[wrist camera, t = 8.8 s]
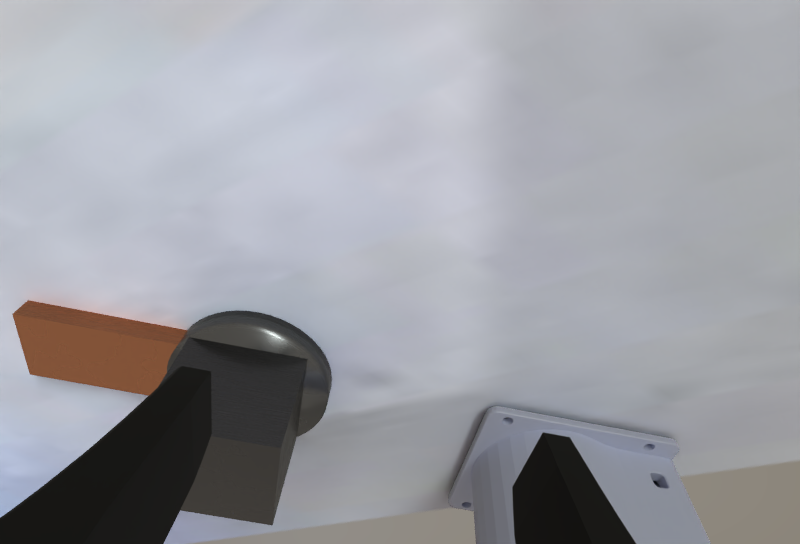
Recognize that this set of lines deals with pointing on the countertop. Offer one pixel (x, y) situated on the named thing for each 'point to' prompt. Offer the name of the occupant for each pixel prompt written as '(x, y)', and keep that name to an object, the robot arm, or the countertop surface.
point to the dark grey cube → (245, 428)
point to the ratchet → (156, 349)
